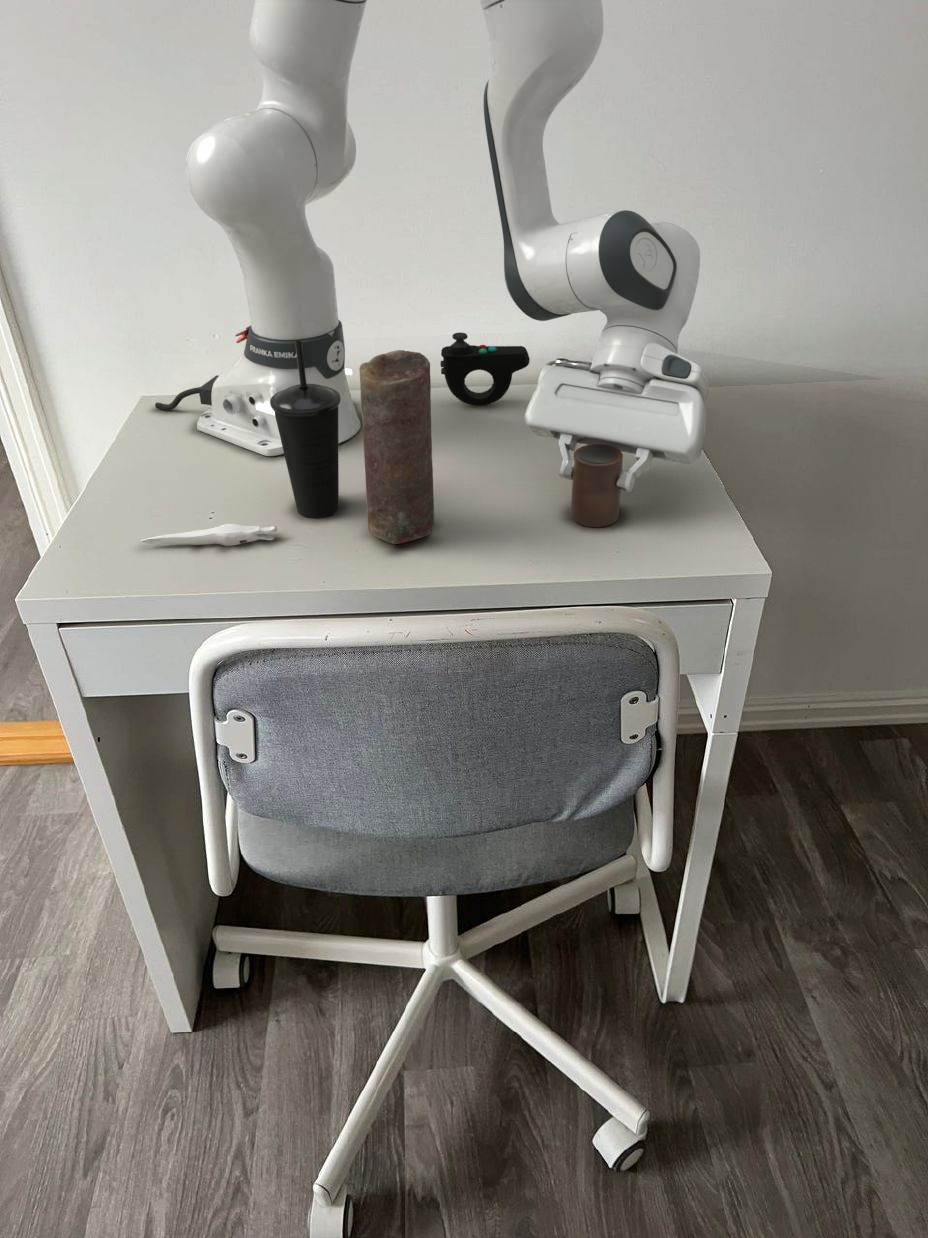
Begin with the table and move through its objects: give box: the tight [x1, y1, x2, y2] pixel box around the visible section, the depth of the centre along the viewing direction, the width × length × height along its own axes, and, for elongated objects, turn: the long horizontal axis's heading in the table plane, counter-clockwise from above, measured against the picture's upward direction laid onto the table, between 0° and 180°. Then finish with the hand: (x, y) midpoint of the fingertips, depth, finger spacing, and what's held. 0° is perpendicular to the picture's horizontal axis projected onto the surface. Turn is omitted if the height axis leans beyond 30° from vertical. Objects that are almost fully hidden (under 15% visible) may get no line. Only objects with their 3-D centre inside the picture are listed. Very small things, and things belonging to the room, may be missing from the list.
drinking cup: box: [270, 340, 341, 519], centre depth 109 cm, size 8×8×20 cm
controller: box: [439, 332, 531, 407], centre depth 136 cm, size 4×12×10 cm, turn 90°
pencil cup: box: [570, 444, 624, 528], centre depth 109 cm, size 5×5×8 cm
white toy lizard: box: [139, 523, 278, 547], centre depth 108 cm, size 15×3×2 cm, turn 96°
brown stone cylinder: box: [358, 349, 435, 545], centre depth 103 cm, size 8×7×20 cm
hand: (594, 483), depth 109 cm, fingers closed on pencil cup, 5 cm apart
